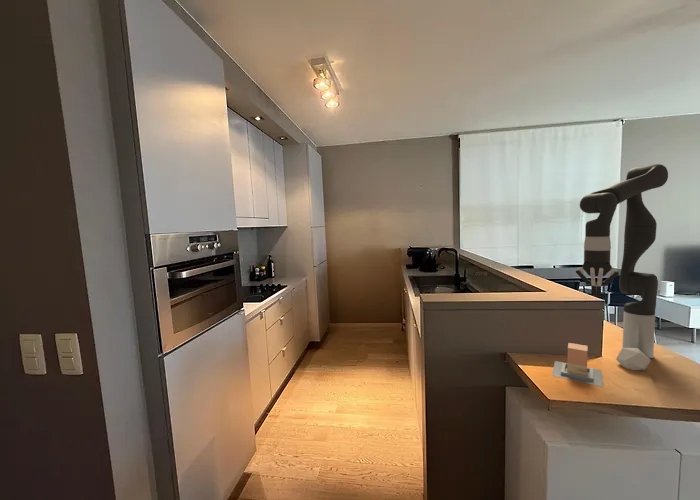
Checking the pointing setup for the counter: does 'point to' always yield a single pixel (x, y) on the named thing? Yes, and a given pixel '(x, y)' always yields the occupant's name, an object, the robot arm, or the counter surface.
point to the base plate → (592, 374)
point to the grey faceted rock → (633, 359)
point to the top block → (577, 354)
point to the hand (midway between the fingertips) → (595, 295)
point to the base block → (576, 369)
